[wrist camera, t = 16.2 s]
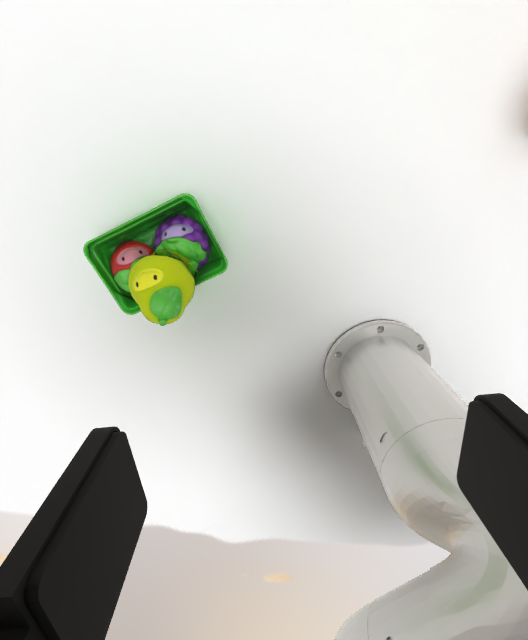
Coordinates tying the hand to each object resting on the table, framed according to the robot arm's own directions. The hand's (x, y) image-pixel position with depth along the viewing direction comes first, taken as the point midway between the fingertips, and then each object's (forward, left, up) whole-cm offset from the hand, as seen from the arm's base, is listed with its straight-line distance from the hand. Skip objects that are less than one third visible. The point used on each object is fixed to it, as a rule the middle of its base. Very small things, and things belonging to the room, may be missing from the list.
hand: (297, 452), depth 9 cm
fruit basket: (+1, +10, -29) cm, 30 cm away
